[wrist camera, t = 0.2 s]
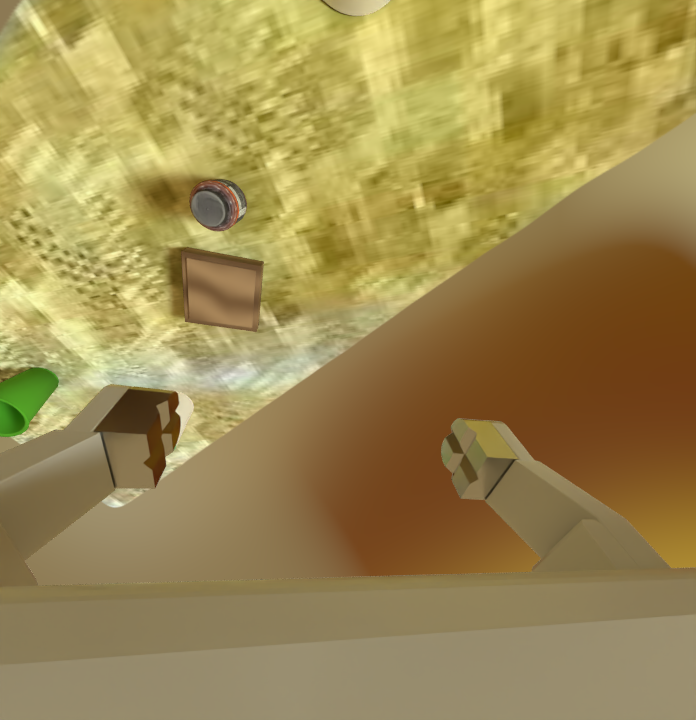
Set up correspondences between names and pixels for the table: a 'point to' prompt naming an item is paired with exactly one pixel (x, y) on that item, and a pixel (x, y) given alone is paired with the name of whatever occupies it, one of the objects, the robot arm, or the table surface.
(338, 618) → the robot arm
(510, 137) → the table surface
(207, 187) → the supplement bottle
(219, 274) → the brown box
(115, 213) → the table surface
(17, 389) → the cup
